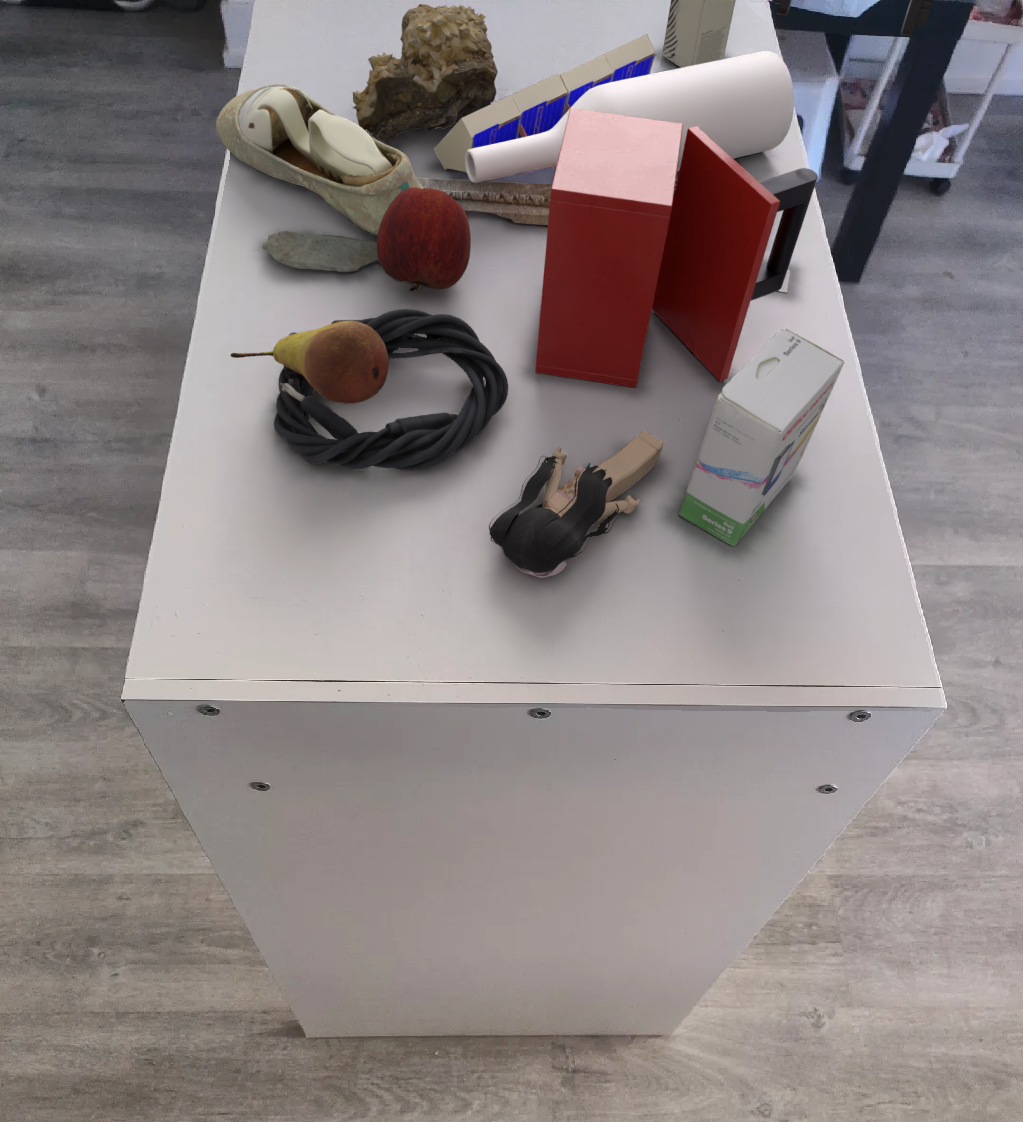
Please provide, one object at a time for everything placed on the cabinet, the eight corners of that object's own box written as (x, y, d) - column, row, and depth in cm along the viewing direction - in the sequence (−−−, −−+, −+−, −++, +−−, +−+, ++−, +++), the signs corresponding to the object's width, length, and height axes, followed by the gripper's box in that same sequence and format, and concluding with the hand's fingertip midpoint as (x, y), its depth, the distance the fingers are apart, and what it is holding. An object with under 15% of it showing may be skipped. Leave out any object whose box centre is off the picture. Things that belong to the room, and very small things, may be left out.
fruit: (367, 309, 67) (245, 282, 73) (334, 391, 67) (215, 357, 73) (414, 348, 71) (296, 320, 77) (383, 424, 72) (267, 390, 78)
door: (710, 286, 86) (756, 106, 73) (780, 357, 82) (842, 179, 69) (651, 308, 84) (687, 127, 71) (719, 381, 80) (771, 204, 67)
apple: (490, 280, 85) (493, 191, 78) (427, 327, 82) (425, 238, 75) (423, 241, 87) (421, 151, 80) (360, 285, 84) (352, 196, 77)
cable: (507, 352, 81) (510, 306, 77) (506, 486, 74) (509, 443, 70) (289, 343, 80) (281, 297, 76) (267, 478, 73) (257, 434, 69)
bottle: (807, 99, 89) (495, 168, 82) (770, 168, 97) (481, 238, 89) (767, 27, 91) (457, 89, 83) (733, 101, 99) (447, 164, 91)
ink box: (735, 447, 77) (778, 320, 67) (795, 481, 76) (848, 355, 65) (675, 516, 73) (710, 391, 63) (736, 552, 72) (783, 431, 62)
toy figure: (582, 432, 77) (472, 555, 70) (603, 371, 72) (486, 497, 65) (662, 481, 76) (559, 611, 69) (689, 423, 71) (581, 557, 64)
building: (647, 30, 95) (666, 72, 96) (610, 64, 101) (629, 103, 102) (462, 116, 87) (485, 161, 88) (433, 149, 92) (455, 191, 93)
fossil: (599, 187, 92) (602, 185, 88) (595, 228, 93) (598, 228, 89) (399, 173, 92) (394, 170, 88) (399, 214, 93) (393, 213, 89)
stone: (399, 233, 87) (394, 264, 83) (399, 251, 88) (394, 282, 85) (268, 219, 86) (257, 249, 83) (269, 237, 87) (259, 267, 84)
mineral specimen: (359, 68, 100) (350, -46, 92) (490, 70, 101) (493, -42, 93) (355, 155, 93) (346, 41, 85) (497, 157, 94) (501, 44, 85)
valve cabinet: (647, 307, 85) (683, 122, 71) (635, 388, 80) (672, 205, 66) (551, 293, 85) (570, 107, 72) (534, 372, 80) (551, 188, 67)
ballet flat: (263, 90, 95) (229, 13, 88) (464, 195, 88) (445, 120, 80) (204, 151, 94) (165, 78, 87) (403, 263, 86) (379, 193, 79)
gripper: (806, -319, 58) (736, 16, 69) (1065, -287, 56) (949, 52, 67) (815, -313, 63) (748, -3, 74) (1052, -284, 61) (947, 30, 72)
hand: (844, 23), depth 71 cm, fingers open, 8 cm apart
